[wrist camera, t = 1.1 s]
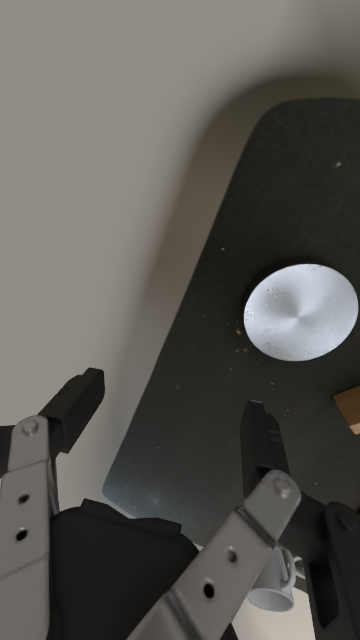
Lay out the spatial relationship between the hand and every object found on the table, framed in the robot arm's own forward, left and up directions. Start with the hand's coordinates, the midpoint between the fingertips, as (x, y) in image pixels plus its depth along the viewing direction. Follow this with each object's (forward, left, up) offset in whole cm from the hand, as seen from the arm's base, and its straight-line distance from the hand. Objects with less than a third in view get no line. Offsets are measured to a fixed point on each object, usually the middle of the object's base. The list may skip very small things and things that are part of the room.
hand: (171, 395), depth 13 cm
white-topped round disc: (+7, +7, -18) cm, 21 cm away
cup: (+47, -20, -18) cm, 54 cm away
